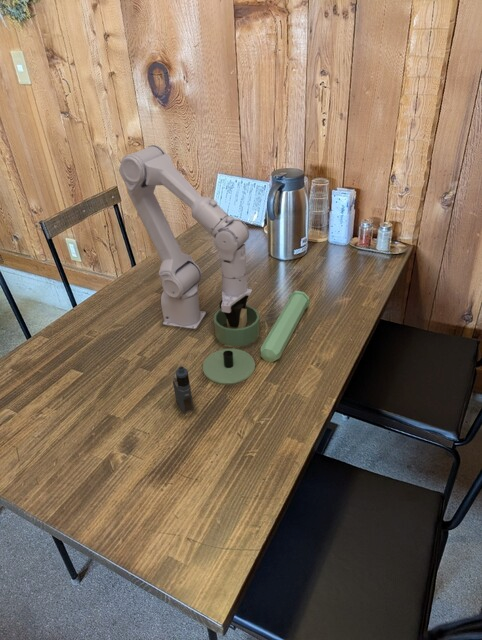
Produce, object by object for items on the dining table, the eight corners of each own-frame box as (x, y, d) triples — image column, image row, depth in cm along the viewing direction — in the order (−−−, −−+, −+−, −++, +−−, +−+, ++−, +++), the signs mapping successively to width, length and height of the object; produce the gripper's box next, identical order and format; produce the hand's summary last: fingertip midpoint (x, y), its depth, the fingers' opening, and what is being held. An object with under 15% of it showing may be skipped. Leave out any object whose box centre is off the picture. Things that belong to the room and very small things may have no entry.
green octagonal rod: (274, 345, 99) (305, 288, 117) (251, 348, 102) (286, 292, 121) (283, 366, 101) (313, 307, 120) (261, 368, 105) (293, 310, 123)
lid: (195, 381, 100) (193, 366, 97) (213, 348, 109) (212, 334, 106) (246, 390, 96) (246, 375, 94) (261, 356, 106) (260, 341, 103)
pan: (209, 344, 110) (207, 326, 107) (223, 319, 119) (222, 301, 116) (252, 351, 107) (252, 332, 104) (264, 324, 116) (264, 307, 113)
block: (227, 329, 111) (226, 315, 108) (232, 320, 114) (231, 306, 111) (242, 331, 110) (242, 317, 107) (247, 322, 113) (246, 308, 110)
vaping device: (184, 418, 91) (177, 374, 84) (175, 402, 95) (167, 358, 88) (196, 413, 92) (189, 369, 85) (186, 397, 95) (179, 354, 89)
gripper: (241, 290, 96) (243, 340, 104) (258, 260, 108) (259, 307, 115) (210, 287, 98) (215, 336, 106) (231, 257, 109) (234, 303, 117)
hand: (236, 321), depth 111 cm, fingers closed on block, 4 cm apart
